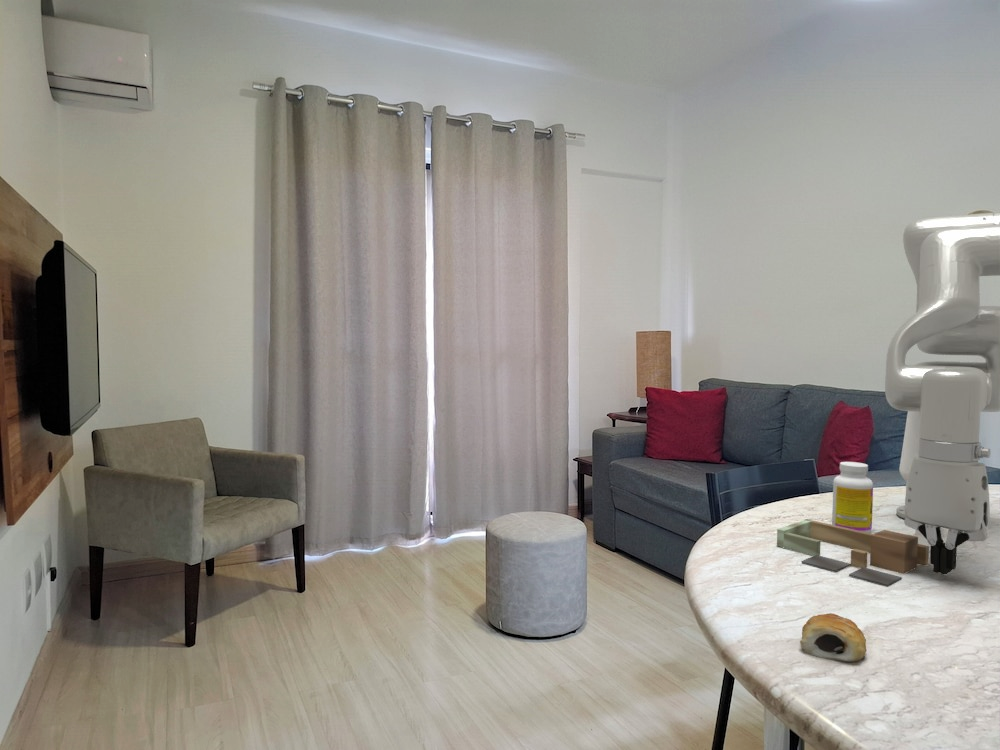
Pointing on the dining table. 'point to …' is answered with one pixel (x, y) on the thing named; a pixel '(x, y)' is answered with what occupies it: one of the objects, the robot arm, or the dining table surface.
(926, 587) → the dining table surface
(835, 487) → the supplement bottle
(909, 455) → the champagne flute
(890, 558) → the block
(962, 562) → the dining table surface
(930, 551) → the robot arm
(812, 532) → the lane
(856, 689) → the dining table surface
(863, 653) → the pastry
